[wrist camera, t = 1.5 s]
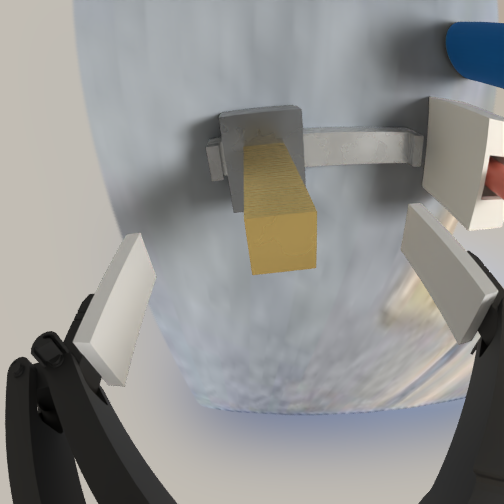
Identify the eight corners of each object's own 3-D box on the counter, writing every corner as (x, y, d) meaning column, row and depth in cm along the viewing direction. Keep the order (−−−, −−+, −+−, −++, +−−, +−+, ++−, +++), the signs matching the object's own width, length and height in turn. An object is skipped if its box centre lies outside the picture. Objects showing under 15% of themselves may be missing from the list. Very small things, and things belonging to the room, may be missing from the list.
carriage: (222, 110, 23) (196, 166, 11) (292, 102, 22) (353, 151, 10) (234, 192, 27) (229, 313, 15) (298, 186, 27) (341, 301, 15)
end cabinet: (429, 96, 22) (489, 118, 14) (464, 102, 21) (523, 126, 14) (421, 186, 27) (468, 230, 20) (454, 185, 27) (501, 227, 20)
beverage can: (460, 88, 20) (545, 120, 11) (430, 35, 18) (521, 42, 8) (490, 64, 18) (572, 89, 8) (464, 14, 15) (549, 19, 5)
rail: (209, 138, 25) (205, 147, 22) (408, 128, 24) (423, 136, 21) (214, 169, 26) (211, 181, 24) (406, 156, 25) (420, 166, 23)
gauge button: (465, 147, 20) (524, 185, 13) (483, 148, 19) (540, 186, 13) (461, 173, 21) (516, 217, 15) (479, 173, 21) (532, 215, 15)
